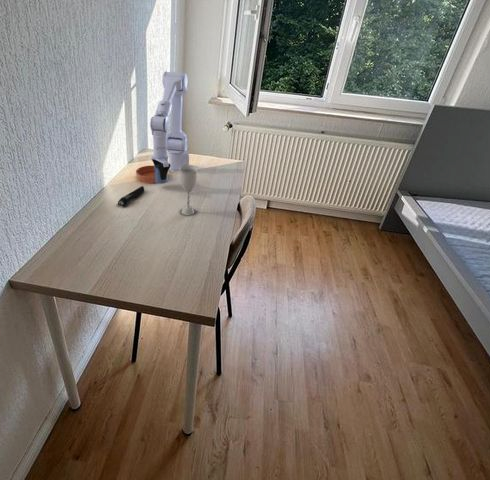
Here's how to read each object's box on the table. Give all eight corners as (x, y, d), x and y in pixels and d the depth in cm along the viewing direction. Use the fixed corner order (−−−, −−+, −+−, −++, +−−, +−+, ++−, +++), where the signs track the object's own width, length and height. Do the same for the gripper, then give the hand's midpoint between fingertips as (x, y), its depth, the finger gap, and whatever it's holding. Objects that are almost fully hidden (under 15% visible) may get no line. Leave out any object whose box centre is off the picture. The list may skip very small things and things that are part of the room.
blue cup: (165, 177, 155) (164, 163, 151) (169, 182, 151) (168, 168, 147) (153, 179, 153) (153, 165, 149) (157, 184, 149) (156, 169, 145)
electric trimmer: (146, 193, 149) (146, 186, 148) (124, 207, 138) (124, 200, 136) (139, 191, 151) (139, 184, 149) (117, 205, 139) (116, 198, 137)
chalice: (194, 217, 133) (195, 173, 123) (177, 215, 134) (177, 171, 124) (198, 208, 139) (199, 165, 129) (181, 206, 140) (182, 164, 130)
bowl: (161, 170, 170) (160, 164, 168) (170, 182, 160) (170, 174, 158) (133, 174, 165) (132, 167, 164) (140, 186, 155) (140, 178, 153)
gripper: (146, 141, 147) (147, 171, 155) (156, 152, 136) (157, 184, 144) (161, 140, 150) (162, 169, 157) (173, 151, 139) (173, 182, 146)
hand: (161, 176), depth 151 cm, fingers closed on blue cup, 5 cm apart
